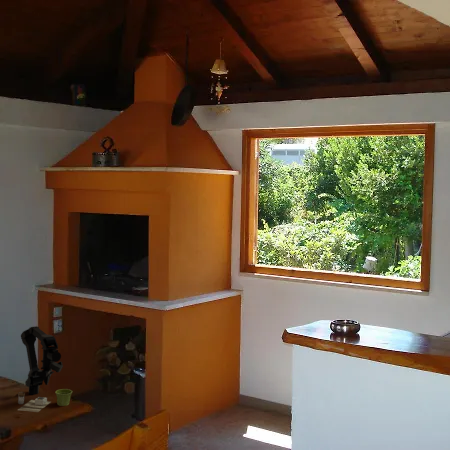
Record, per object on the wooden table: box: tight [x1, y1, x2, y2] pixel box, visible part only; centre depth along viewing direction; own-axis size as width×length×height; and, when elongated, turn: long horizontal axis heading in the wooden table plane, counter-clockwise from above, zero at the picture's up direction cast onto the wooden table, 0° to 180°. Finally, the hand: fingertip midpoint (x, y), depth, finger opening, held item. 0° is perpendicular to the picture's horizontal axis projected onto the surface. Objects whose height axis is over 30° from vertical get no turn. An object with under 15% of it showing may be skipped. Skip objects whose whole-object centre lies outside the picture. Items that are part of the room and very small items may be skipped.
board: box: [17, 399, 51, 413], centre depth 347 cm, size 18×12×2 cm, turn 173°
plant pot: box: [55, 388, 73, 407], centre depth 352 cm, size 9×9×9 cm
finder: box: [34, 396, 48, 405], centre depth 350 cm, size 5×5×3 cm
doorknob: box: [17, 391, 26, 405], centre depth 349 cm, size 4×4×8 cm
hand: (46, 384), depth 357 cm, fingers closed
